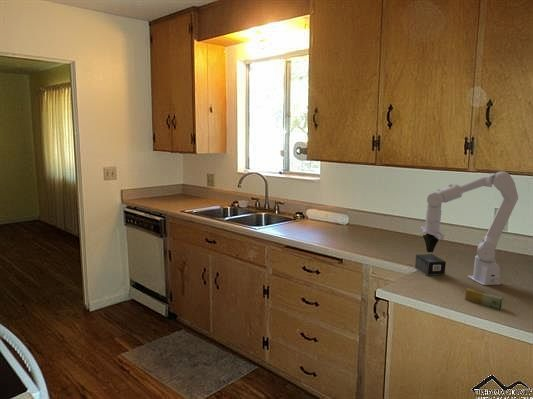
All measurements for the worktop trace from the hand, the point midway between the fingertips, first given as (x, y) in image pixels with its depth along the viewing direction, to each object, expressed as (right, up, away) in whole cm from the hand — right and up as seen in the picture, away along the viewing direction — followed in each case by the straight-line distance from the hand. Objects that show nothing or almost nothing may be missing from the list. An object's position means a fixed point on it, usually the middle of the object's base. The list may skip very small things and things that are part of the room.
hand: (429, 251), depth 177 cm
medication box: (+7, -15, -31) cm, 35 cm away
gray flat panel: (0, -8, +1) cm, 8 cm away
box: (+1, -6, -5) cm, 8 cm away
